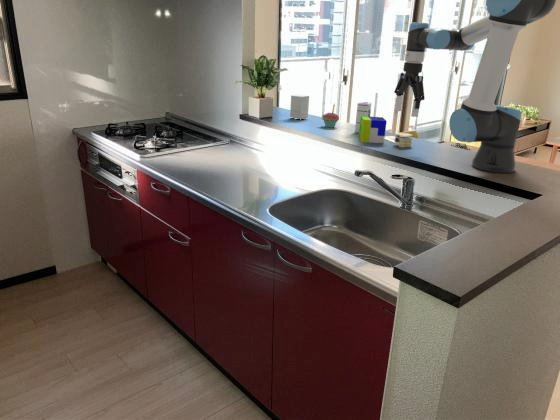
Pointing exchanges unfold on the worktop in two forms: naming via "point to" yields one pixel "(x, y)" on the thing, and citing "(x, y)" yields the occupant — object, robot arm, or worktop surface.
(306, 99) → the supplement box
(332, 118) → the cupcake
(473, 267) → the worktop surface
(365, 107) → the syrup box
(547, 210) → the worktop surface
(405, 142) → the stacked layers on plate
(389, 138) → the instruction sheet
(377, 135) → the puzzle toy
